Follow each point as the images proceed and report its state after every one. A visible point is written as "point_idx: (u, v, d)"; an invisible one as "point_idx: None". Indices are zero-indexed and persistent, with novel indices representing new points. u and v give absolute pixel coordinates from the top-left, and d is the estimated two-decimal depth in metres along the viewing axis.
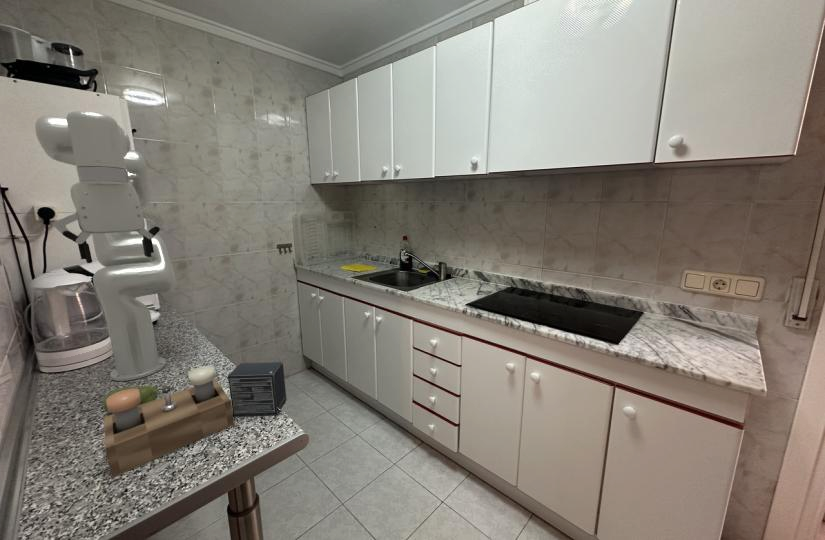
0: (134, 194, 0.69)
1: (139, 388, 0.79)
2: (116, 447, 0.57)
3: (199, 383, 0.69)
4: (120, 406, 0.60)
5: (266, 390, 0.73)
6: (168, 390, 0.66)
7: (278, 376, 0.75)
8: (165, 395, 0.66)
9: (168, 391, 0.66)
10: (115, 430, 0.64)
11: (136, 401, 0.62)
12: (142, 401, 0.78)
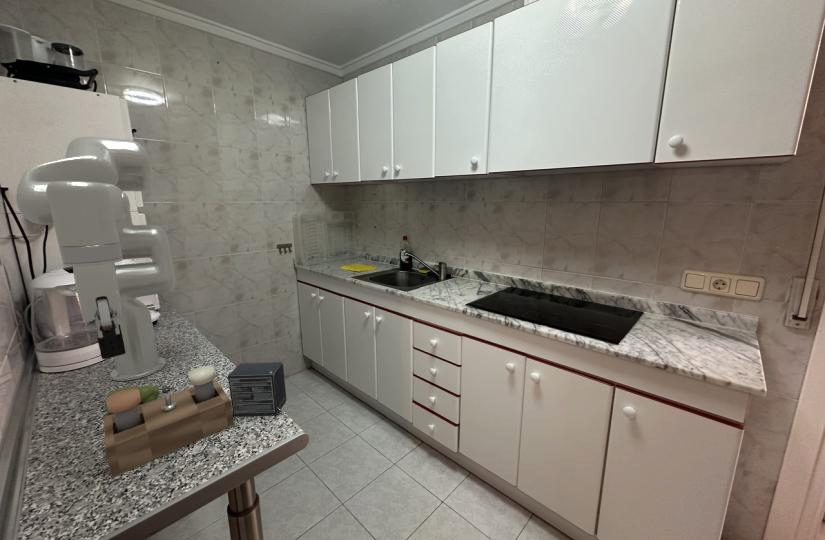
0: None
1: (141, 387, 0.79)
2: (116, 447, 0.57)
3: (199, 383, 0.69)
4: (120, 406, 0.60)
5: (266, 390, 0.73)
6: (168, 390, 0.66)
7: (278, 376, 0.75)
8: (165, 395, 0.66)
9: (168, 391, 0.66)
10: (115, 430, 0.64)
11: (136, 401, 0.62)
12: (144, 400, 0.78)
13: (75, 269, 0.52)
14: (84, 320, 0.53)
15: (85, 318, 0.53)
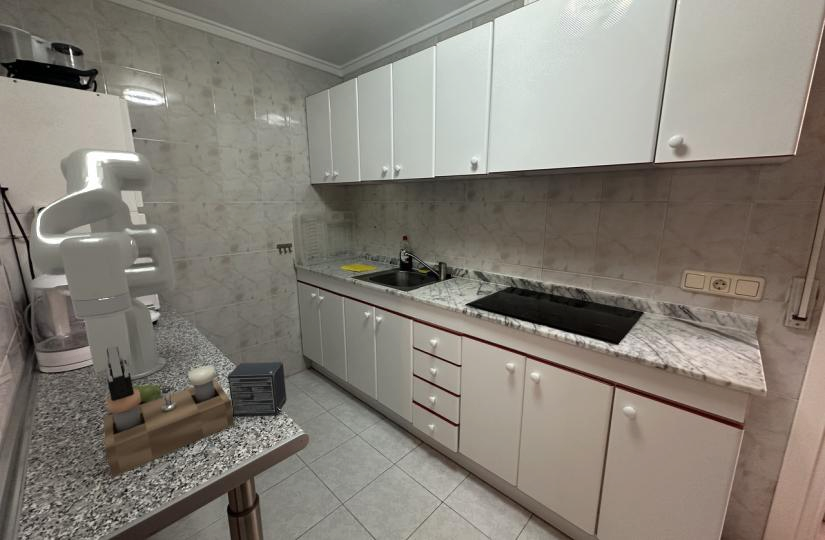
0: None
1: (143, 387, 0.79)
2: (116, 447, 0.57)
3: (199, 383, 0.69)
4: (120, 406, 0.60)
5: (266, 390, 0.73)
6: (168, 390, 0.66)
7: (278, 376, 0.75)
8: (165, 395, 0.66)
9: (168, 391, 0.66)
10: (115, 430, 0.64)
11: (136, 401, 0.62)
12: (146, 400, 0.78)
13: (87, 322, 0.54)
14: (95, 371, 0.55)
15: (96, 369, 0.55)
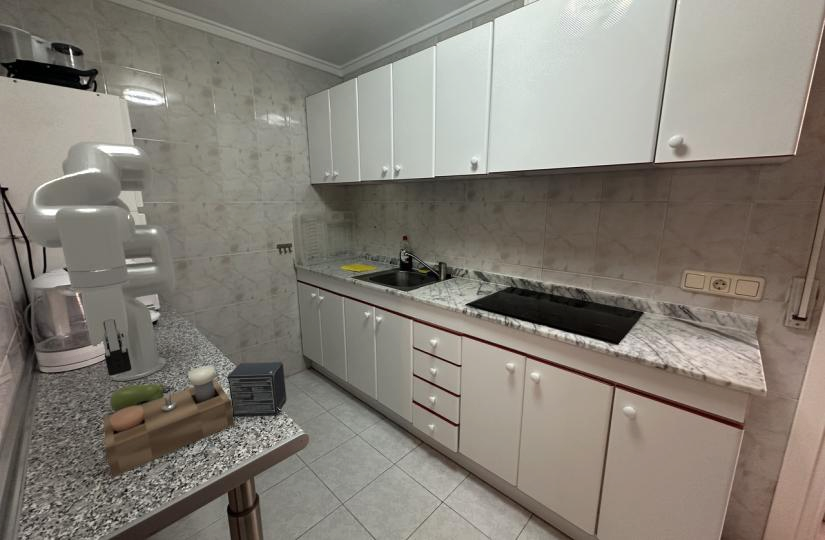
0: None
1: (145, 386, 0.80)
2: (116, 447, 0.57)
3: (199, 383, 0.69)
4: (124, 424, 0.61)
5: (266, 390, 0.73)
6: (168, 390, 0.66)
7: (278, 376, 0.75)
8: (165, 395, 0.66)
9: (168, 391, 0.66)
10: None
11: (140, 418, 0.63)
12: (148, 399, 0.79)
13: (83, 294, 0.53)
14: (92, 343, 0.54)
15: (93, 341, 0.54)
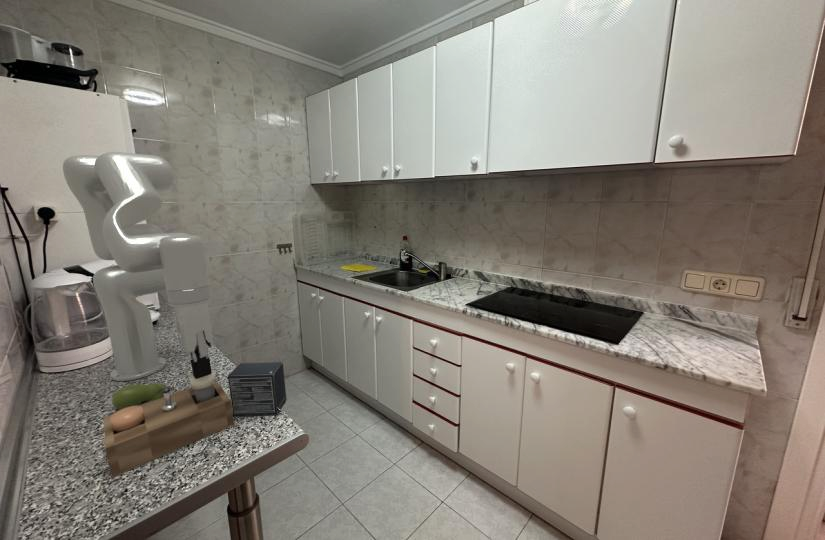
0: None
1: (147, 385, 0.80)
2: (116, 447, 0.57)
3: (200, 387, 0.69)
4: (124, 424, 0.61)
5: (266, 390, 0.73)
6: (168, 390, 0.66)
7: (278, 376, 0.75)
8: (165, 395, 0.66)
9: (168, 391, 0.66)
10: None
11: (140, 418, 0.63)
12: (150, 398, 0.79)
13: (181, 309, 0.63)
14: (187, 351, 0.64)
15: (188, 349, 0.64)
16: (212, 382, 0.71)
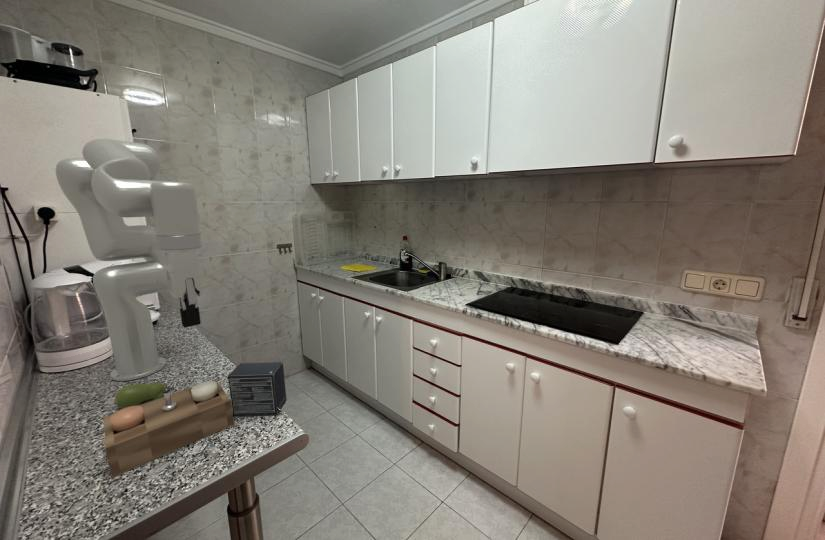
0: None
1: (150, 384, 0.80)
2: (116, 447, 0.57)
3: (202, 399, 0.70)
4: (124, 424, 0.61)
5: (266, 390, 0.73)
6: (168, 390, 0.66)
7: (278, 376, 0.75)
8: (165, 395, 0.66)
9: (168, 391, 0.66)
10: None
11: (140, 418, 0.63)
12: (153, 397, 0.79)
13: (170, 254, 0.63)
14: (176, 297, 0.65)
15: (177, 295, 0.64)
16: (214, 394, 0.71)
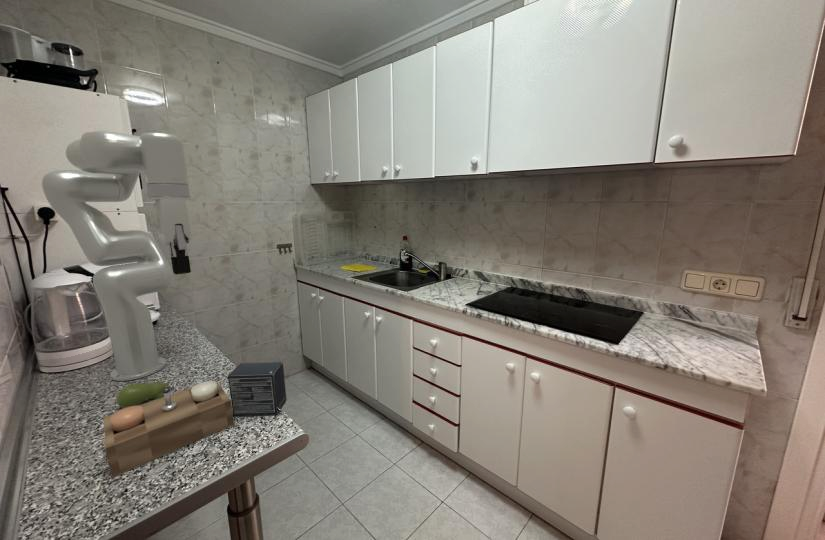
0: None
1: (151, 384, 0.80)
2: (116, 447, 0.57)
3: (202, 399, 0.70)
4: (124, 424, 0.61)
5: (266, 390, 0.73)
6: (168, 390, 0.66)
7: (278, 376, 0.75)
8: (165, 395, 0.66)
9: (168, 391, 0.66)
10: None
11: (140, 418, 0.63)
12: (154, 396, 0.80)
13: (160, 201, 0.68)
14: (166, 241, 0.69)
15: (167, 239, 0.69)
16: (214, 394, 0.71)
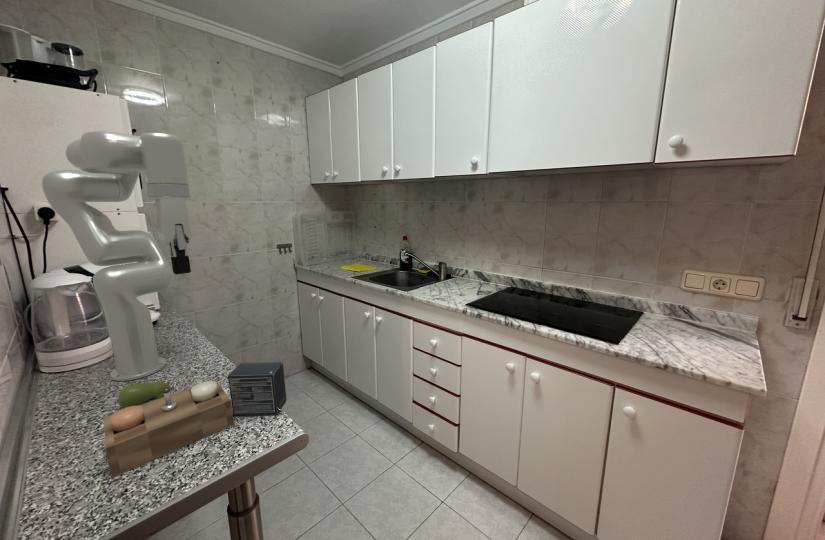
0: None
1: (153, 383, 0.81)
2: (116, 447, 0.57)
3: (202, 399, 0.70)
4: (124, 424, 0.61)
5: (266, 390, 0.73)
6: (168, 390, 0.66)
7: (278, 376, 0.75)
8: (165, 395, 0.66)
9: (168, 391, 0.66)
10: None
11: (140, 418, 0.63)
12: (156, 396, 0.80)
13: (160, 201, 0.68)
14: (166, 241, 0.69)
15: (167, 239, 0.69)
16: (214, 394, 0.71)
